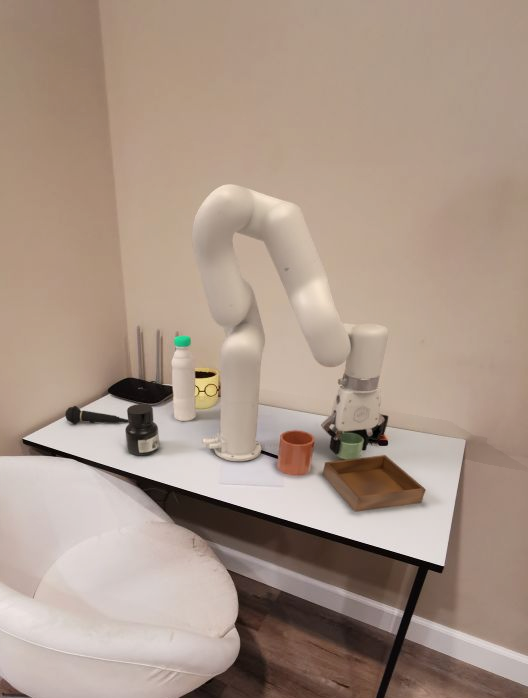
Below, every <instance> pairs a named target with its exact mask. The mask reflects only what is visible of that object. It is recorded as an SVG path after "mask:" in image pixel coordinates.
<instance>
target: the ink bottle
mask: <svg viewBox="0 0 528 698" xmlns="http://www.w3.org/2000/svg"><path fill="white" fill-rule="evenodd" d="M126 413H127V414H126V415H127V420H128V422H127V423H128V424H127V425H126V427H125V440H126V441H125V442H126V449H127V452H129V453H130V454H132V455H134V456H149V455H152V454H154V453H156V452H157V451H158V450H159V448H160V437H159V426H158V424H157V423H156V422H154V408H153V406H152V405H150V404H147V403H137V404H132V405H130V406H129V407H127V409H126Z"/></svg>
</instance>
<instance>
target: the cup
mask: <svg viewBox="0 0 528 698" xmlns="http://www.w3.org/2000/svg"><path fill="white" fill-rule="evenodd" d="M315 442H316V438H315V436H314V435H313V434H311V433H309V432H308V431H304V430H297V429H295V430H287V431H283V432H282V433H281V434H280V435H279V442H278V444H279V445H278V453H277V464H276V467H277V469H278V471H279V472H281V473H283V474H285V475H288V476H295V477H300V476H304V475H307V474H309V472H310V471H311V468H312V462H313V457H314V456H313V455H314V448H315Z"/></svg>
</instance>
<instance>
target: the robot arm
mask: <svg viewBox="0 0 528 698" xmlns="http://www.w3.org/2000/svg"><path fill="white" fill-rule="evenodd" d="M304 215H305V214H304V212H303V210H302V209H301V207H300V206H298V205H297V204H296V203H294V202H291V201H287V200H284V199H280V198H277V197H274V196H271V195H268V194H265V193H262V192H259V191H256V190H254V189H251V188H248V187H245V186H242V185H239V184H233V183H232V184H231V183H229V184H223V185H221V186H219V187H217V188H215V189H213V190H212V192H210V193H209V195H208V196H207V197H206V198H205V199H204V201H203V202H202V203H201V205H200V206H199V208H198V210H197V212H196V213H195V216H194V220H193V224H192V229H191V244H192V251H193V256H194V259H195V262H196V266H197V268H198V272H199V276H200V281H201V284H202V287H203V291H204V294H205V297H206V301H207V305H208V310H209V312H210V315H211V318H212V319H213V321H214V322H215V323H216V324H217V325H218V326H220V327H222V328H223V332H224V334H225V339H224V341H223V343H222V345H221V348H220V353H219V371H220V414H219V416H220V417H219V418H220V421H219V422H220V423H219V424H220V425H219V432H217V433H216V436H213V437H212V438H202V440H201V441H202V446H203V447H208V449H209V450H213V451H214V453H215V455H217V456H218V457H219V458H221V459H222V460H226V461H231V462H247V461H251V460H254V459H256V458H257V457H259V456H261V455H260V454H261V453H262V445H261V443H260V442H258V441H257V433H258V431H257V430H258V417H259V415H258V414H259V404H260V403H259V402H260V386H261V383H260V382H261V366H262V358H263V353H264V348H265V345H266V336H265V331H264V326H263V322H262V319H261V315H260V311H259V307H258V303H257V298H256V295H255V292H254V289H253V287H252V286H251V284H250V283H249V282H248V281H247V280H246V279H245V278H242V273H241V270H240V266H239V261H238V258H237V254H236V251H235V249H234V244H233V238H234V235H235V233H237V234H240V235H243V236H246V237H249V238H251V239H254V240H257V241H261V242H263V243H264V246H265V248H266V250H267V252H268V254H269V257H270V259H271V261H272V264H273V266H274V268H275V269H276V272H277V274H278V277H279V279H280V281H281V284H282V286H283V288H284V290H285V293H286V295H287V298H288V301H289V304H290V306H291V307H292V310H293V312H294V315H295V316H296V319H297V322H298V325H299V327H300V330H301V332H302V334H303V336H304V338H305V341H306V343H307V345H308V348H309V350H310V352H311V354H312V356H313V358H314V360H315V361H316V363H317V364H319V365H320V366H322V367H325V368H336V367H339V366H341V365H342V364H343V363H344V362H345V366H344V372H343V375H342V378H338V379H337V384H338V386H339V387H338V390H337V392H336V395H335V398H334V401H333V406H332V409H331V414H330V415H329V416H328V417H327V418H326V419H325V420H324V421H323V422H321V423H320V427H321V429H323V430H324V431H325V433H327V434H328V435H329V437H330V442H329V449H330V451H331V452H332V453H333V454H334V455H335V454H338V453H339V448H340V443H341V440H340V439H339V438H340V436H341V434H342V433H344V432H346V431H354V430H362V431H360V433H359V435H360V436H362V437H363V438H364V443H363V448H362V452H365V451H366V450H367V446H368V444H369V443H368V440H369V436H371V435H372V432H373V431H375V430H376V429H377V428H378V426H379V425H380V424H381V423H382V422H383V421H384V420H385V418H384V417H383V416H382V415H383V414H382V413H381V405H382V403H381V402H382V388H381V386H380V385H379V382H380V376H381V373H382V367H383V362H384V358H385V353H386V348H387V343H388V338H389V329H388V328H387V327H386V326H384V325H381V324H378V323H361V324H353V323H346V322H342V320H341V317H340V315H339V312H338V310H337V307H336V304H335V301H334V298H333V296H332V290H331V286H330V282H329V278H328V275H327V271H326V268H325V266H324V264H323V261H322V259H321V257H320V255H319V252H318V250H317V246H316V244H315V242H314V240H313V237H312V234H311V232H310V230H309V227H308V224H307V222H306V219H305V216H304ZM381 414H382V415H381ZM331 426H332V428H331Z"/></svg>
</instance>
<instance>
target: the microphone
mask: <svg viewBox="0 0 528 698" xmlns="http://www.w3.org/2000/svg"><path fill="white" fill-rule="evenodd" d="M64 416H65V419H66V420H67V422H69V423H71V424H72V425H77V424H79V423H80V422H84V423H90V424H95V423H101V424H102V423H105V424H117V423H118V424H119V423H129V422H128V418H124V417H120V416H117V415H113V414H107V413H101V412H95V411H88V410H81V408H79V407H78V406H77V405H74V406H70V407H68V408H67V409H66V411H65V415H64Z"/></svg>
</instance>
